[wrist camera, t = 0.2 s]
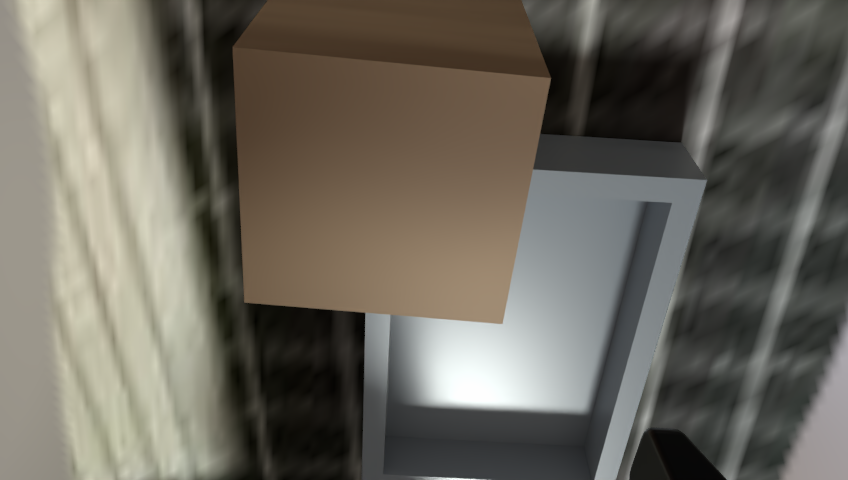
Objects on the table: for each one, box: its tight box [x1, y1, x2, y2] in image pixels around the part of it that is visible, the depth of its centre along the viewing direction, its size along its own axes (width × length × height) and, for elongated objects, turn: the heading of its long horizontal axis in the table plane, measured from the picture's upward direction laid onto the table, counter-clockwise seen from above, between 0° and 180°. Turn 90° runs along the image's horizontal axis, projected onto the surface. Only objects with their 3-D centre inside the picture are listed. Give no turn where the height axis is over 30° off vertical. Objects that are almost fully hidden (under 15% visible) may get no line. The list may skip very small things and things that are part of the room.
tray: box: [362, 134, 707, 480], centre depth 25 cm, size 14×10×2 cm
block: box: [233, 0, 551, 324], centre depth 16 cm, size 4×4×11 cm
